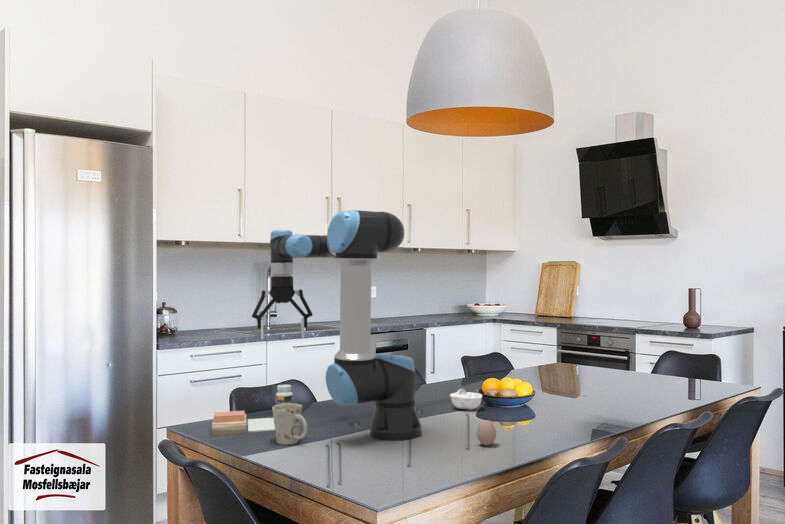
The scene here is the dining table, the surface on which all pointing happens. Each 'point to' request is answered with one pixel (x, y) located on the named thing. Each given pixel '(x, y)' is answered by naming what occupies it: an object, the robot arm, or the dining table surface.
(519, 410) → the dining table surface
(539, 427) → the dining table surface
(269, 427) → the mat
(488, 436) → the egg
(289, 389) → the pill bottle
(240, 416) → the tile
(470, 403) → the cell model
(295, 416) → the mug
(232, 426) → the tan wooden flat block
